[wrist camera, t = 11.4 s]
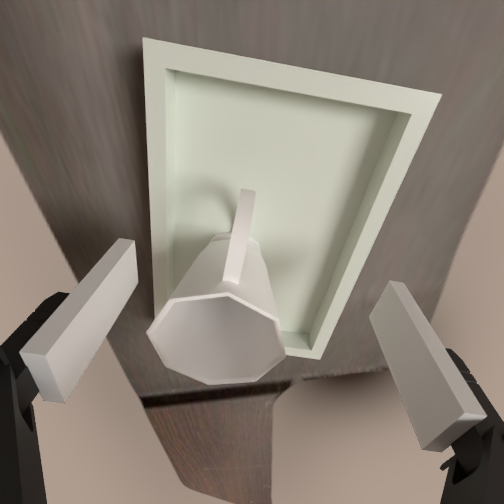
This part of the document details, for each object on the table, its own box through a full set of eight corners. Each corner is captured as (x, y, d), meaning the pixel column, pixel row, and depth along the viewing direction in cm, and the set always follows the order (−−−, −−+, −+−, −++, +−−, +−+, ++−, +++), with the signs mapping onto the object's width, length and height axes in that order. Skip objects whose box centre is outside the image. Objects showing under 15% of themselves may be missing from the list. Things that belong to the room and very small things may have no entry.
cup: (182, 283, 22) (145, 376, 15) (194, 157, 17) (145, 213, 10) (268, 299, 23) (269, 396, 16) (306, 182, 17) (332, 252, 11)
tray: (160, 42, 14) (142, 37, 12) (417, 91, 15) (442, 94, 13) (164, 314, 25) (155, 336, 23) (315, 336, 26) (319, 359, 24)
